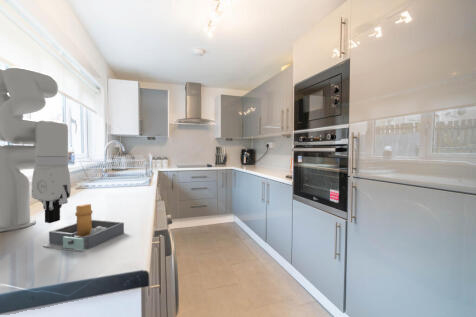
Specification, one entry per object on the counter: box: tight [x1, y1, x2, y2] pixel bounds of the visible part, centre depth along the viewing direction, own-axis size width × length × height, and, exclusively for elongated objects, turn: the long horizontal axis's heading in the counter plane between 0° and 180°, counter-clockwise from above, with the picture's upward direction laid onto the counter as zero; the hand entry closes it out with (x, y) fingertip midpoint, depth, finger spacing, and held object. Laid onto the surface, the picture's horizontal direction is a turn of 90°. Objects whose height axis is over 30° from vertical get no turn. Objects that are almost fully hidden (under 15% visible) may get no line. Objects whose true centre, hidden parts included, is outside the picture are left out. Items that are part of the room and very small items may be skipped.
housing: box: [42, 219, 125, 253], centre depth 70 cm, size 16×15×4 cm
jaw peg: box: [74, 203, 93, 237], centre depth 71 cm, size 5×5×10 cm
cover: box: [62, 236, 85, 250], centre depth 62 cm, size 7×1×3 cm, turn 75°
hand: (52, 221), depth 66 cm, fingers closed
